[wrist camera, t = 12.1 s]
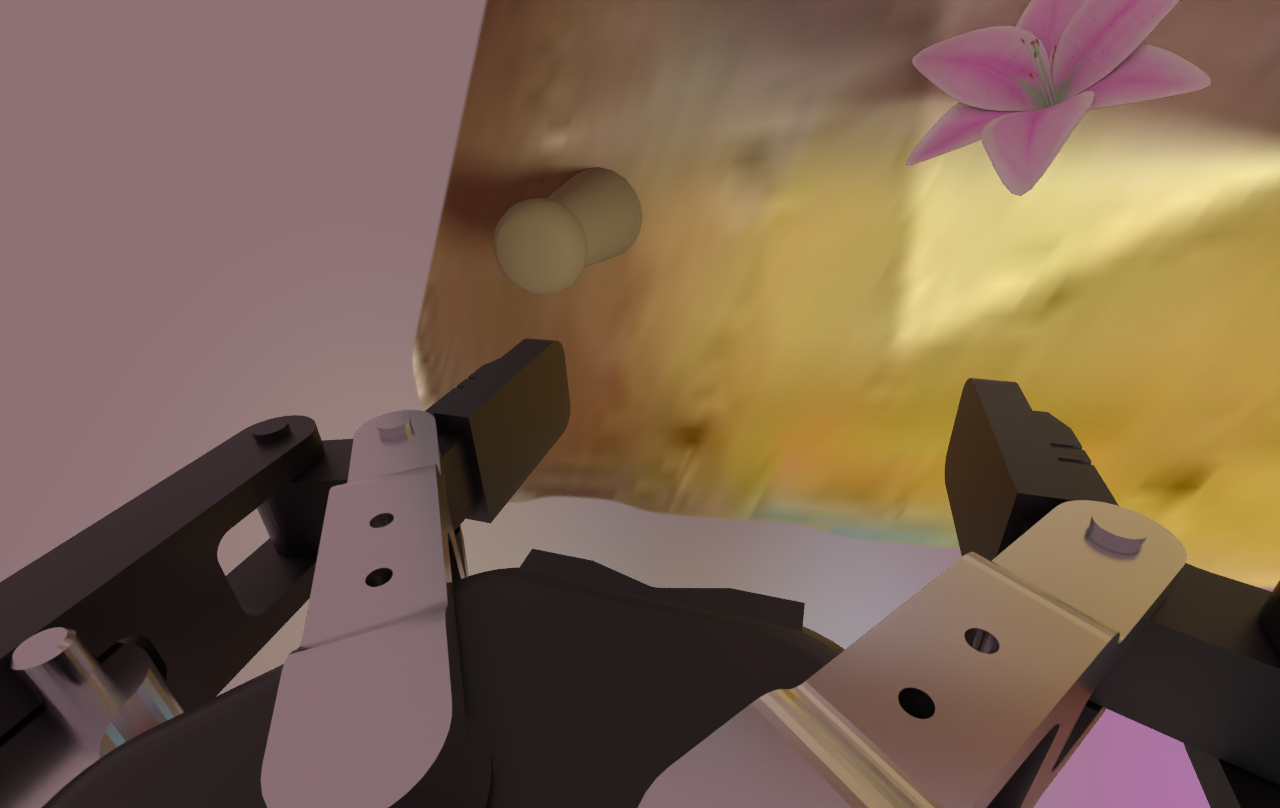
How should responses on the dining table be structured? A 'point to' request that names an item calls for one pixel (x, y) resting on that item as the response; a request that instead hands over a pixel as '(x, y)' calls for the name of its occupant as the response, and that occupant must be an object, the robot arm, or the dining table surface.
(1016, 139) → the lily
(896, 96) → the dining table surface
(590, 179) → the cork
